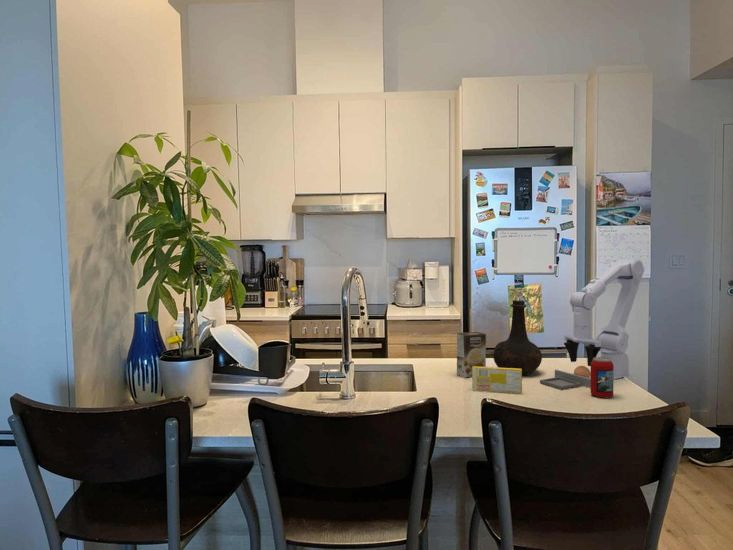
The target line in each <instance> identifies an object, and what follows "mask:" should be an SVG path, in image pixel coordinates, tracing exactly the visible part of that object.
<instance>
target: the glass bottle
mask: <svg viewBox="0 0 733 550" xmlns="http://www.w3.org/2000/svg"><path fill="white" fill-rule="evenodd" d="M527 306H528V305H526V304H525V300H516V299H515V300H512V303H511V304H510V307H511V308H512V314H511V325H510V331H509V332H510V333H509V336H508V338H507V339H506V340H504V341H500V342H498V343H497V344H496V345H495V347H494V349H493V353H492V356H493V361H494V363H495V365H496V366H497V368H517V369H522V376H527V375H530V374H532V373H535V371H537V370H538V368H539V367H540V365H541V364H542V361H543V355H542V351H541V349H540V347H538V345H537V344H535V343H533V342H532V341H530V339H529V337H528V333H527V326H526V315H525V314H526V313H525V310H526V309H525V308H527Z"/></svg>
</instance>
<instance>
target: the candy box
mask: <svg viewBox="0 0 733 550" xmlns="http://www.w3.org/2000/svg"><path fill="white" fill-rule="evenodd" d="M471 382H472V383H471V389H472V390H471V391H473V392H483V391H487V392H486V393H499V394H512V395H513V394H515V395H523V375H522V369H517V368H498V366H497V367H496V366H495V367H491V366H486V367H477V366H473V367H472V377H471Z"/></svg>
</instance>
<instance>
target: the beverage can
mask: <svg viewBox="0 0 733 550" xmlns="http://www.w3.org/2000/svg"><path fill="white" fill-rule="evenodd" d="M614 380H615V379H614V365H613V363H612V361H611V359H609V358H603V357H601V356H599V357H597V356H596V358H593V360H592V362H591V366H590V388H589V390H590V394H591V395H593V396H594V397H595V396H596V398H599V397H602V398H601V399H608V398H607V397H609V398H611V397H613V395H614V383H615V382H614Z"/></svg>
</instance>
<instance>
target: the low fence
mask: <svg viewBox="0 0 733 550" xmlns="http://www.w3.org/2000/svg"><path fill="white" fill-rule="evenodd" d="M555 377H561V378H565V379H568V380H572V381H575V382H579V383H581V385H582V386H581V387H584V386H586V387H585V388H587V387H589V388H588V389H590V378H586V377H582V376H579V375H575V374H574V373H571V372H567V371H562V370H560V369H554V378H555Z"/></svg>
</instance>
